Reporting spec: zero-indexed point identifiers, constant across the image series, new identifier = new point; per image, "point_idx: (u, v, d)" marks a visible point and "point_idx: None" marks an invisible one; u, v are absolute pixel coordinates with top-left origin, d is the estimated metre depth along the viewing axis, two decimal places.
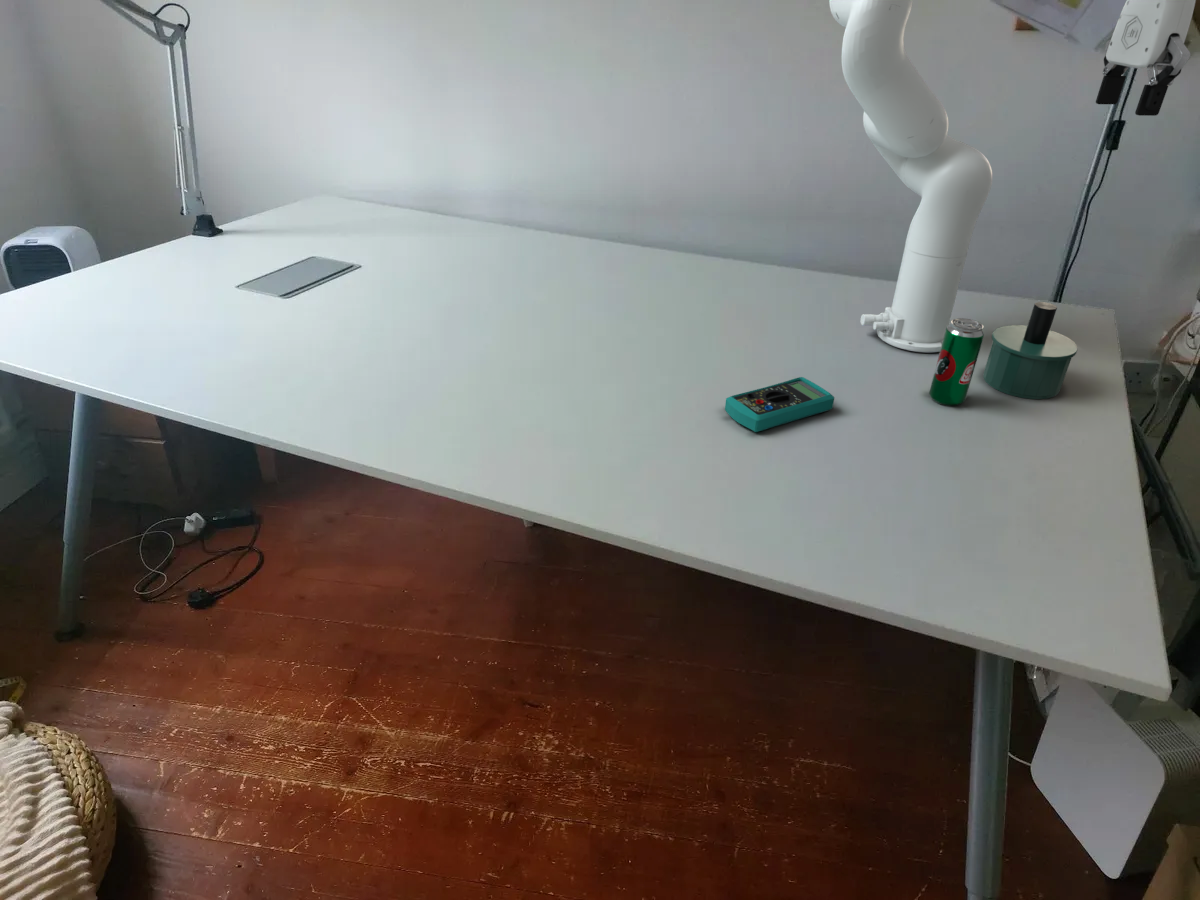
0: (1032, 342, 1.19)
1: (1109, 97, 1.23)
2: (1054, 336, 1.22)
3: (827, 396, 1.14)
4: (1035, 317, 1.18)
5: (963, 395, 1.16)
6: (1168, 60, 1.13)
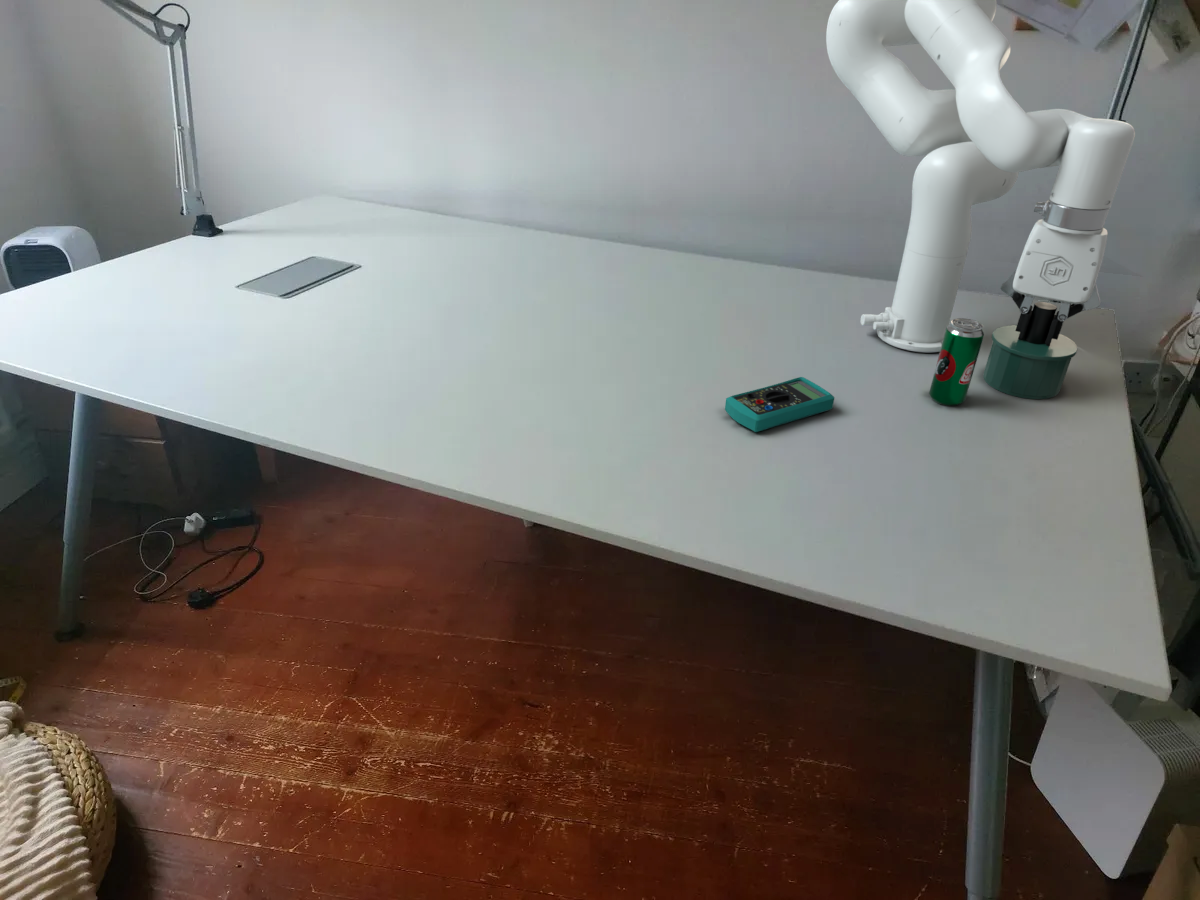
0: (1032, 342, 1.19)
1: None
2: None
3: (827, 396, 1.14)
4: (1035, 317, 1.18)
5: (963, 395, 1.16)
6: None
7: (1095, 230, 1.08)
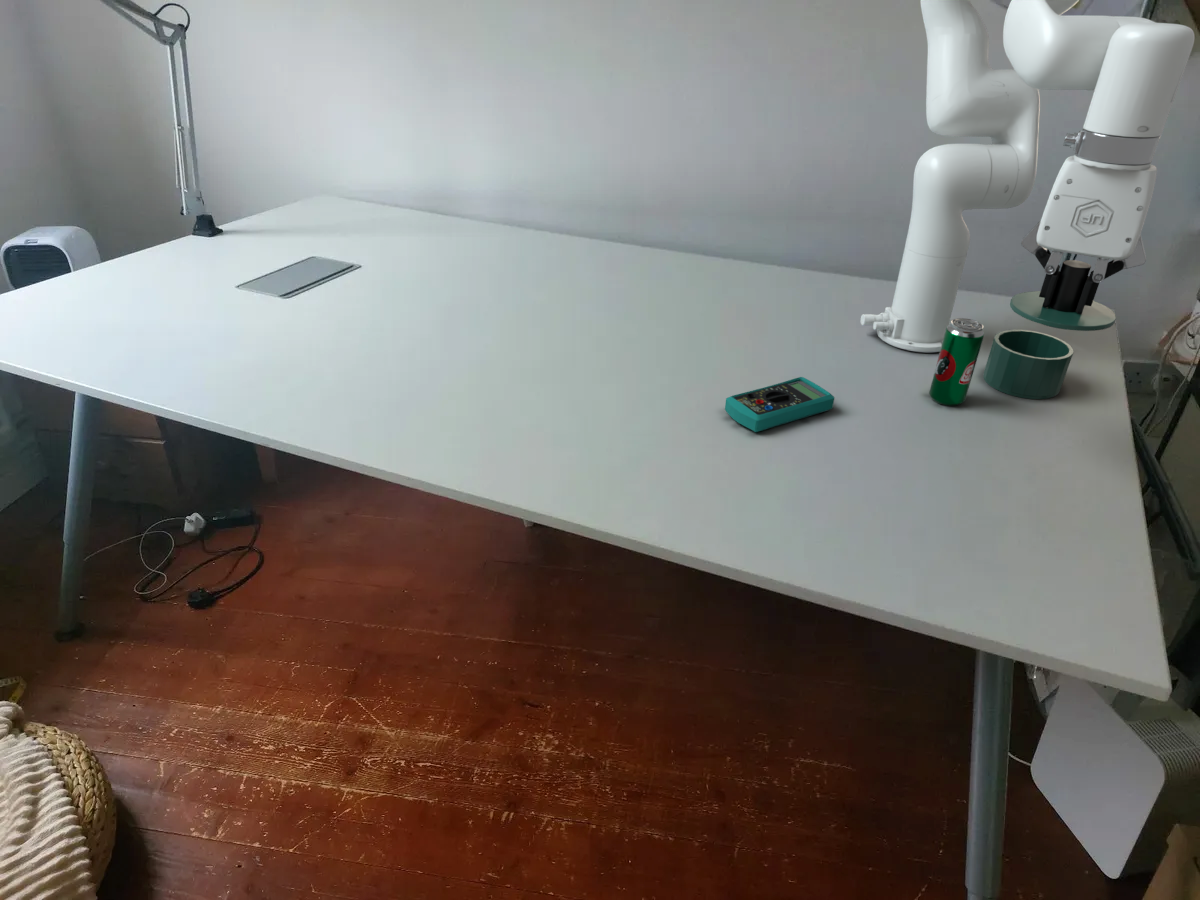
0: (1060, 309, 0.97)
1: None
2: None
3: (827, 396, 1.14)
4: (1063, 279, 0.96)
5: (963, 395, 1.16)
6: None
7: (1142, 165, 0.86)
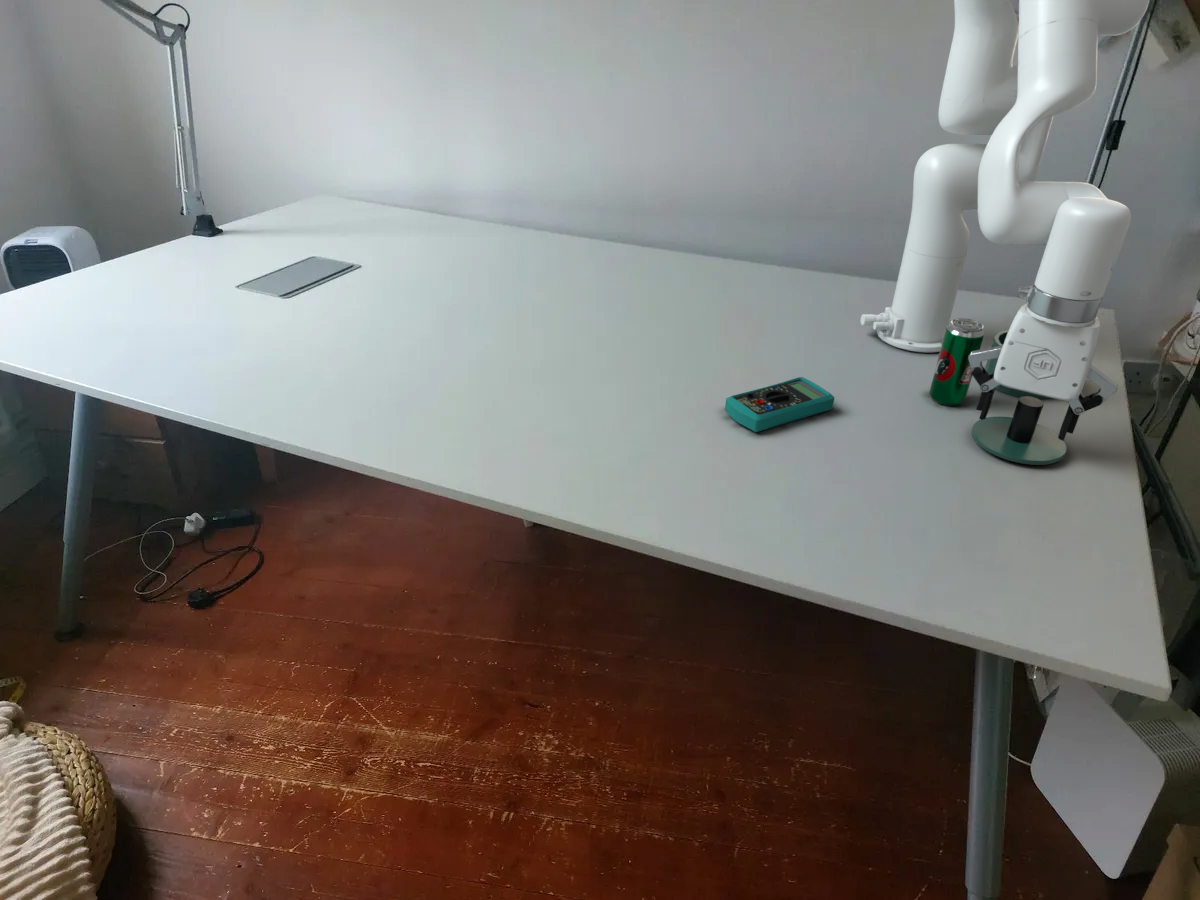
0: (1016, 441, 1.06)
1: (988, 410, 1.08)
2: (1041, 432, 1.09)
3: (827, 396, 1.14)
4: (1019, 414, 1.05)
5: (963, 395, 1.16)
6: None
7: (1086, 322, 0.95)
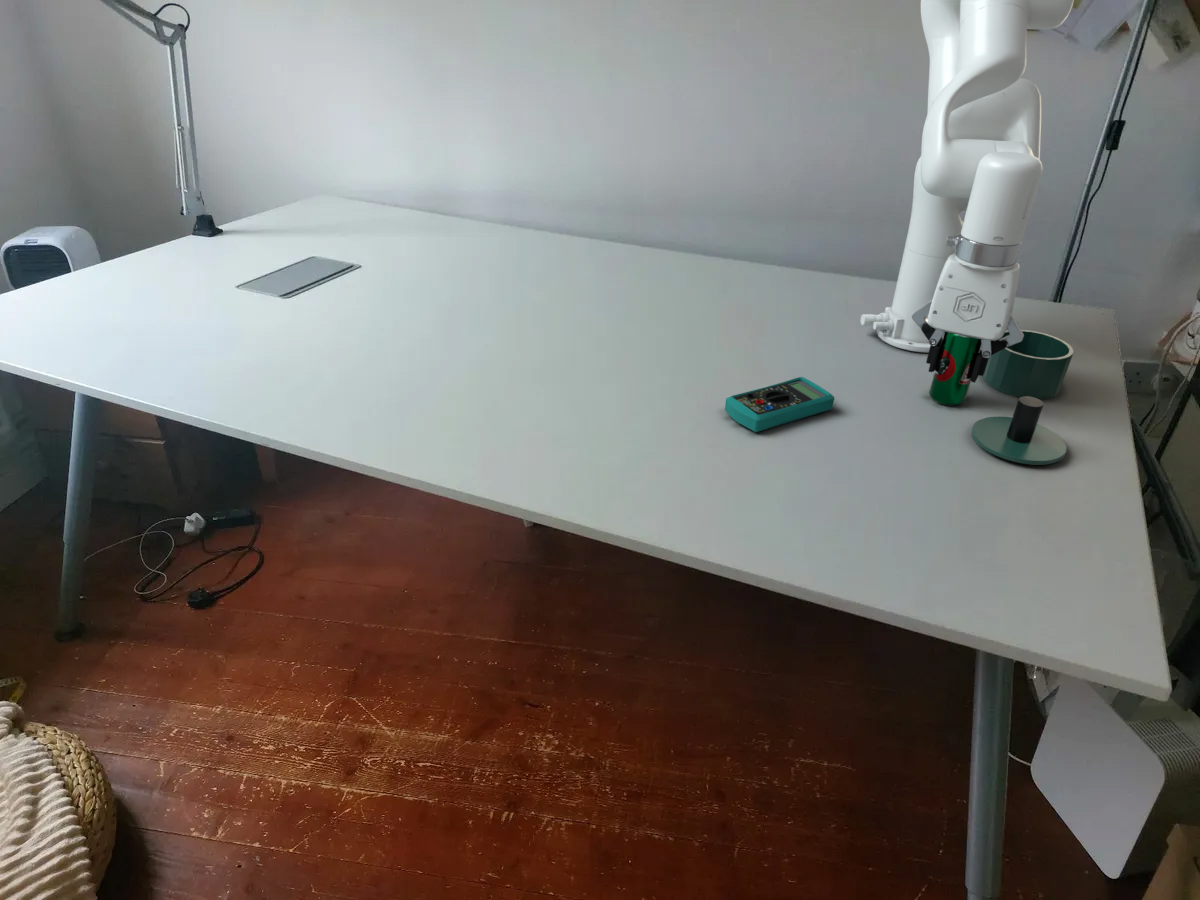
0: (1016, 441, 1.06)
1: None
2: (1041, 432, 1.09)
3: (827, 396, 1.14)
4: (1019, 414, 1.05)
5: (963, 395, 1.16)
6: None
7: (1006, 266, 1.05)
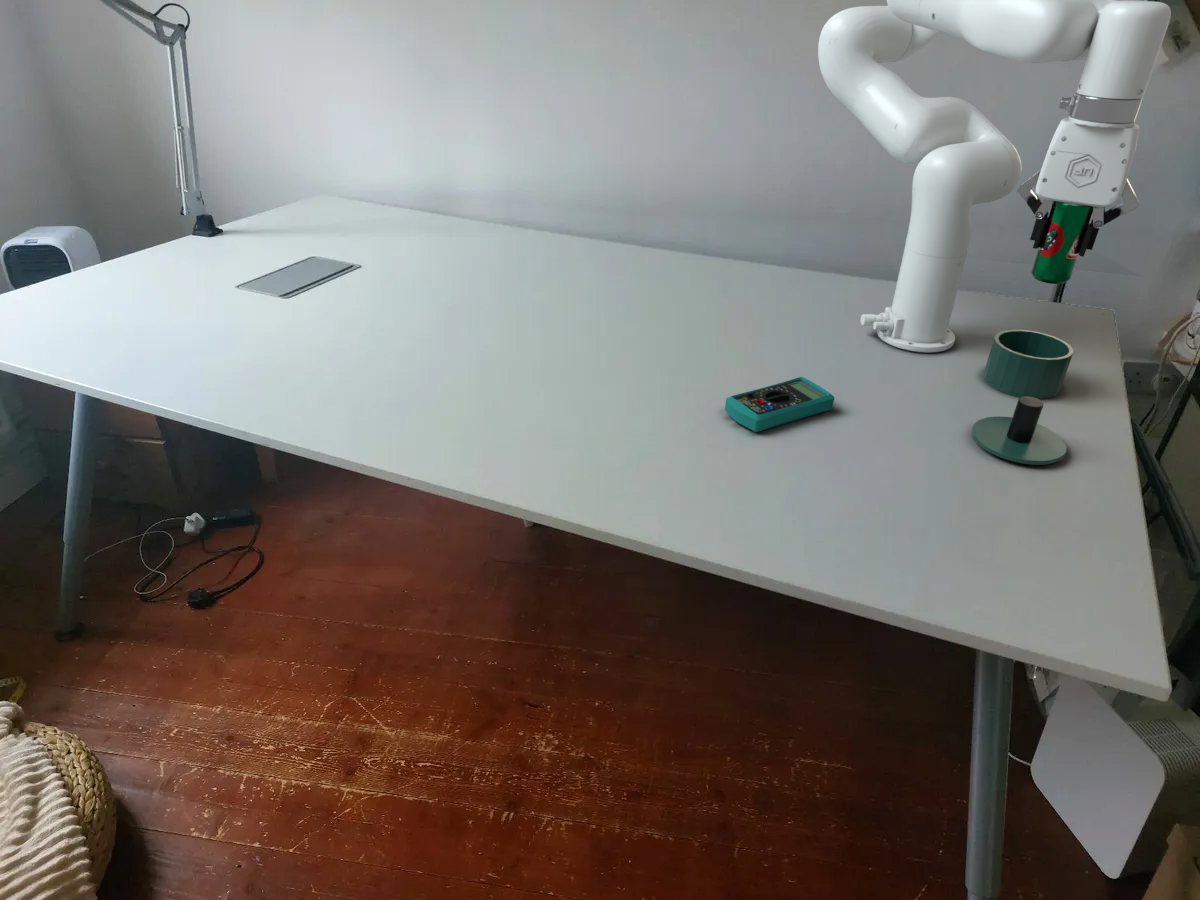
0: (1016, 441, 1.06)
1: (1041, 239, 1.13)
2: (1041, 432, 1.09)
3: (827, 396, 1.14)
4: (1019, 414, 1.05)
5: (1069, 272, 1.12)
6: None
7: (1126, 123, 1.01)
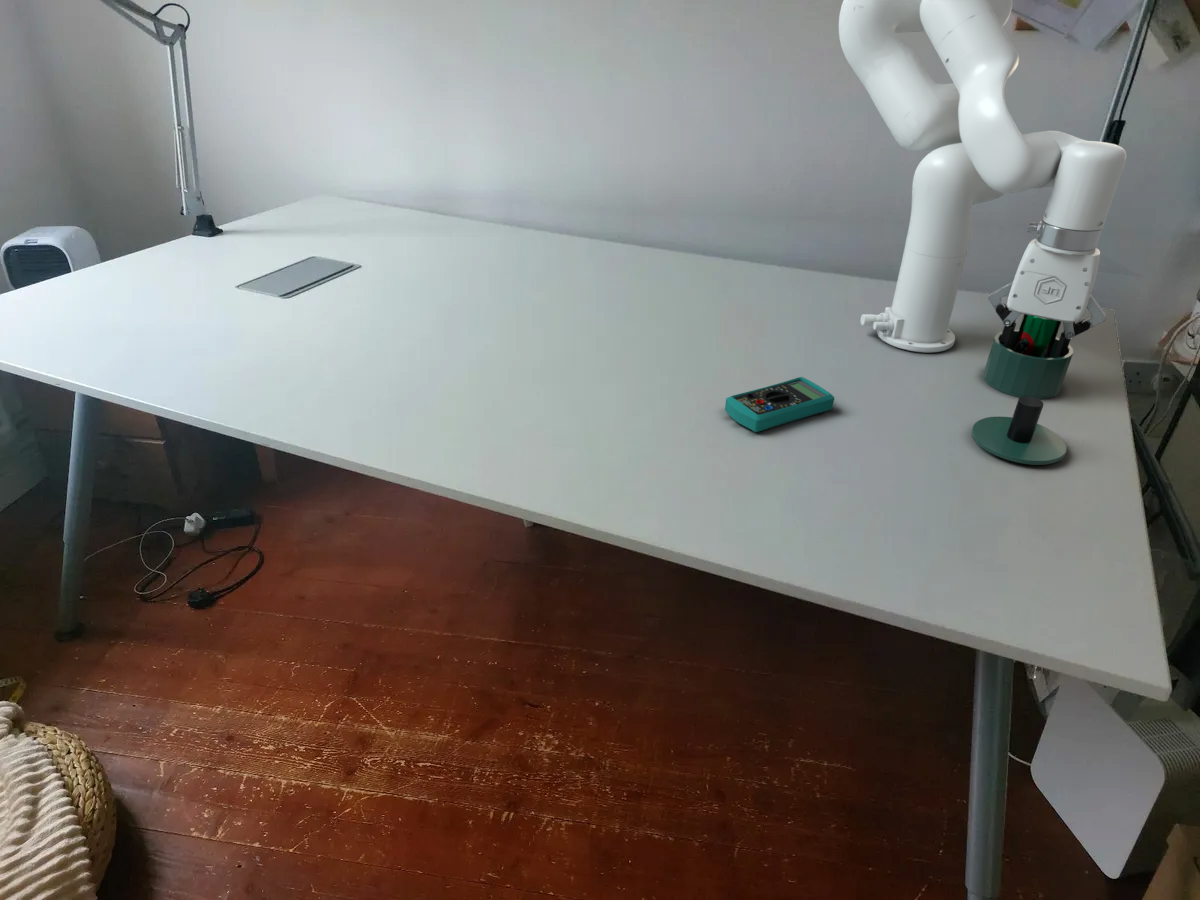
0: (1016, 441, 1.06)
1: (1009, 343, 1.22)
2: (1041, 432, 1.09)
3: (827, 396, 1.14)
4: (1019, 414, 1.05)
5: None
6: None
7: (1088, 251, 1.10)
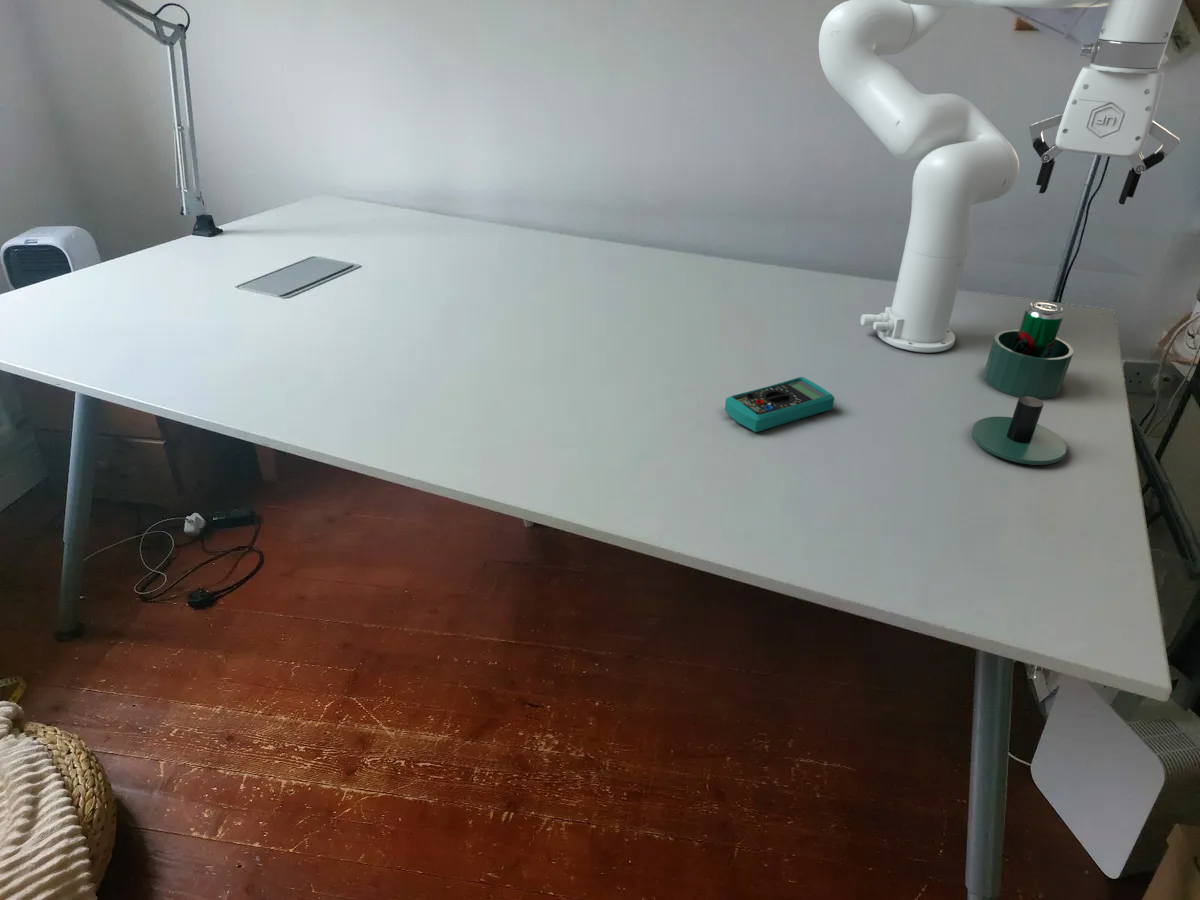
0: (1016, 441, 1.06)
1: (1047, 184, 1.11)
2: (1041, 432, 1.09)
3: (827, 396, 1.14)
4: (1019, 414, 1.05)
5: None
6: None
7: (1150, 68, 0.98)
